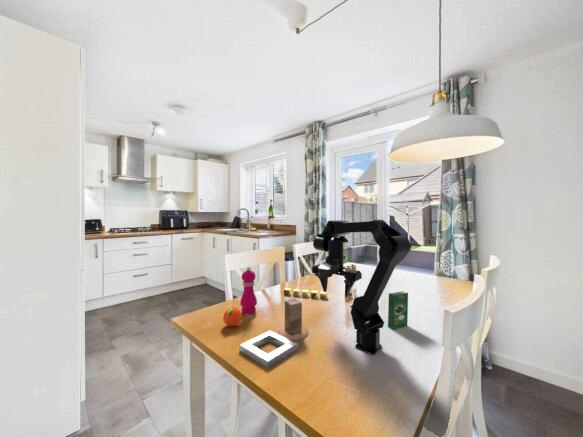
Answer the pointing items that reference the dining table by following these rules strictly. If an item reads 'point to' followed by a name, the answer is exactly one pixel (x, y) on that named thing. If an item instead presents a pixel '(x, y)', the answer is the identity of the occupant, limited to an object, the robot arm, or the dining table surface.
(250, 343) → the metal collar stand
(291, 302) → the walnut block
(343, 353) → the dining table surface
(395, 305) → the coffee box
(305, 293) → the yellow cube row
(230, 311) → the clementine
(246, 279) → the pepper mill
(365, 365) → the dining table surface
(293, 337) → the terracotta coaster
